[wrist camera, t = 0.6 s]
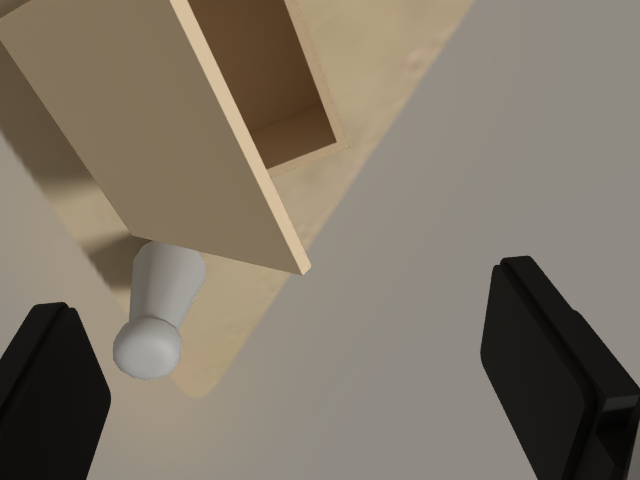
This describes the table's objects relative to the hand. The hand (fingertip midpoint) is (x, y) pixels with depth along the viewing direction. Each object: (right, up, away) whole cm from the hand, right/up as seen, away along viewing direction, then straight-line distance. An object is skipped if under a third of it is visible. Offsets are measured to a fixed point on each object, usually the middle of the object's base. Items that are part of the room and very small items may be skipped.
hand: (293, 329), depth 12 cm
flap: (-8, +7, +12) cm, 16 cm away
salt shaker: (-12, +1, +32) cm, 34 cm away
